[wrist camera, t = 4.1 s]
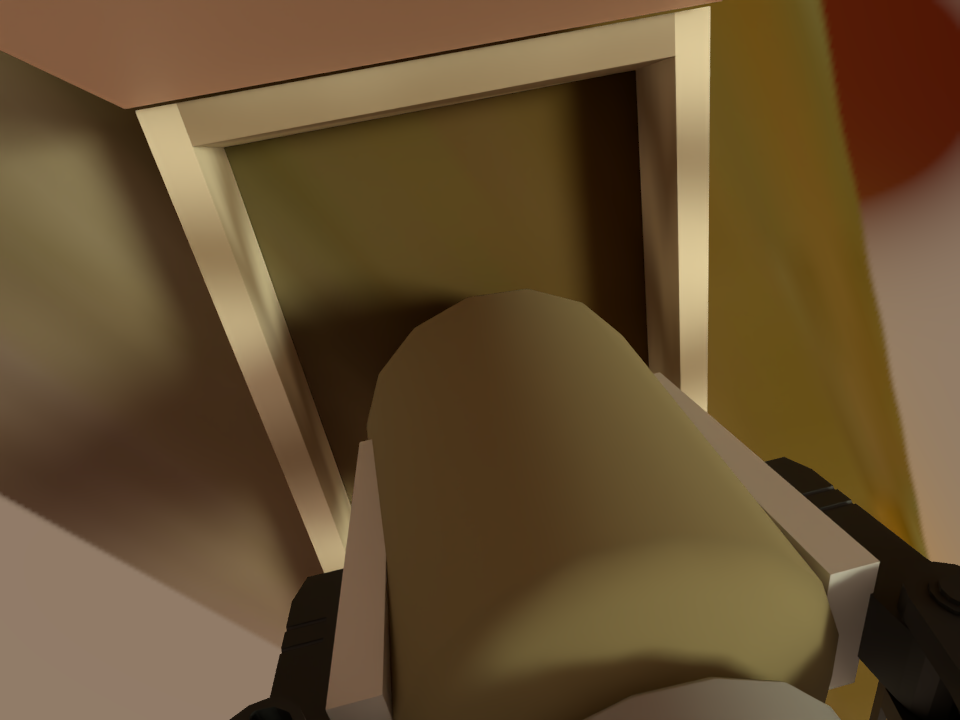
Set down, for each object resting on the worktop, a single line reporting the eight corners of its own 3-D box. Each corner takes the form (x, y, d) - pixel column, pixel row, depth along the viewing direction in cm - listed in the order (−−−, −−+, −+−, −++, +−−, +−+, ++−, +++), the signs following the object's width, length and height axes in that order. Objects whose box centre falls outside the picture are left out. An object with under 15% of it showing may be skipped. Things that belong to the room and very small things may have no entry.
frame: (176, 117, 15) (134, 110, 12) (664, 28, 16) (710, 6, 13) (361, 602, 23) (356, 652, 20) (676, 522, 24) (705, 561, 21)
